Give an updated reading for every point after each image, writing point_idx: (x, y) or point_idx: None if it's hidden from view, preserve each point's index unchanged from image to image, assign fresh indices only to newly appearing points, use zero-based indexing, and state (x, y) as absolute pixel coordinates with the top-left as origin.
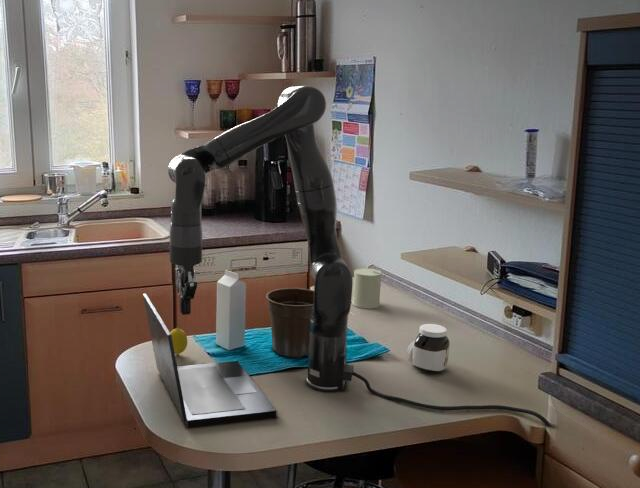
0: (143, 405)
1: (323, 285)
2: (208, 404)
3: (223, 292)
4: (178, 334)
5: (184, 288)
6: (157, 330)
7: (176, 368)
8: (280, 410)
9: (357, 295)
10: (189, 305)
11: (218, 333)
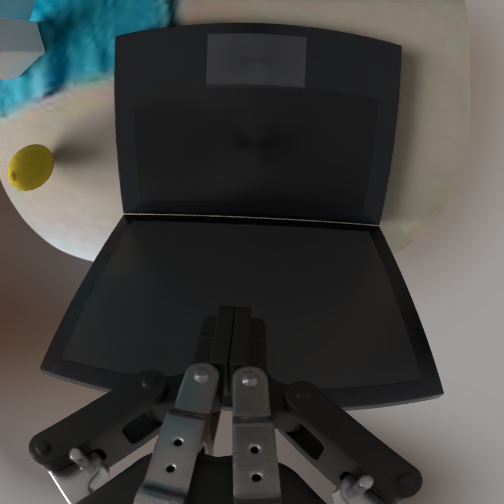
0: None
1: None
2: (334, 164)
3: None
4: (27, 173)
5: (331, 477)
6: None
7: (416, 313)
8: (367, 23)
9: None
10: (265, 349)
11: (5, 74)
